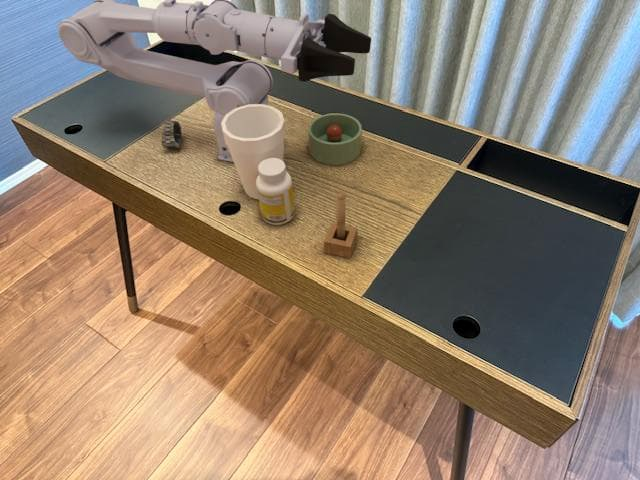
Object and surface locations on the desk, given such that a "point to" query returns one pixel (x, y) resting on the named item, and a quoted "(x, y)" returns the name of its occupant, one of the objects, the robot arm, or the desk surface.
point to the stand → (340, 241)
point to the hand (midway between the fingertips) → (362, 55)
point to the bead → (334, 132)
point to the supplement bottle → (275, 192)
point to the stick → (341, 216)
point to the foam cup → (253, 140)
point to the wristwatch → (171, 135)
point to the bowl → (335, 150)
